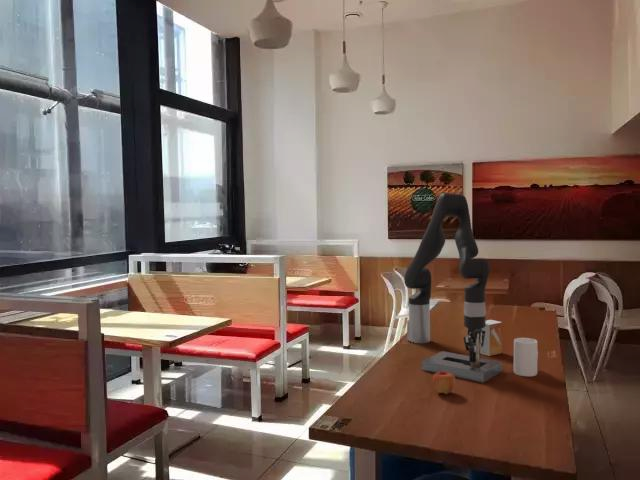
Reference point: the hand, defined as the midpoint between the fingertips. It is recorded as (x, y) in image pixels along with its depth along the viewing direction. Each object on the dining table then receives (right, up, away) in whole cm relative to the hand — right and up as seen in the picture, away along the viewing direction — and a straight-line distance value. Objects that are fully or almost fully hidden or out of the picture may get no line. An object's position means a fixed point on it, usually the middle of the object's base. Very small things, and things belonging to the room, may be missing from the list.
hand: (474, 360), depth 194 cm
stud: (0, -4, 0) cm, 4 cm away
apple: (-16, -7, -19) cm, 25 cm away
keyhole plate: (-4, -5, +4) cm, 7 cm away
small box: (+14, -3, +26) cm, 29 cm away
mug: (+19, -4, +1) cm, 20 cm away
